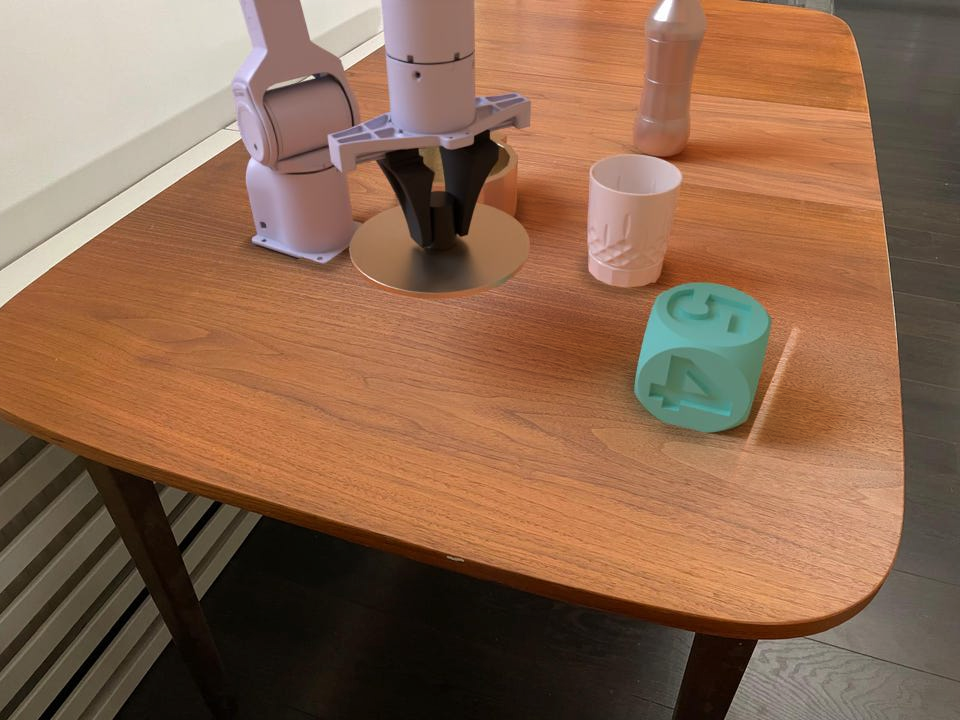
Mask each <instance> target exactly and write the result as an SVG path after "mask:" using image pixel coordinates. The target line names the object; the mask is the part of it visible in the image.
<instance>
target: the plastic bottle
mask: <svg viewBox="0 0 960 720" xmlns="http://www.w3.org/2000/svg"><path fill="white" fill-rule="evenodd" d="M707 26H708V22H707V16H706V13H705V11H704V7H703V5H702V4H701V2H700V0H657V1H656V2H655V4H654V5H653V6H652V7H651V9H650V10H649V12H648V14H647V16H646V19H645V21H644V74H643V85H642V89H641V95H640V99H639V104H638V110H637V112H636V115H635V117H634V121H633V125H632V140H633V141H632V142H633V143H634V146H635V147H636V149H637V150H638V151H639V152H640V153H643V154H644V155H647V156H652V157H672V156H676V155H678V154H680V153H681V152H682V151H683V150H684V149H685V148H686V147H687V144H688V142H689V139H690V137H691V115H690V112H691V101H692V100H691V99H692V86H693V82H694V75H695V71H696V67H697V61H698V58H699V54H700V51H701V48H702V45H703V41H704V38H705V34H706V30H707Z"/></svg>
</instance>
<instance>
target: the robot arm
mask: <svg viewBox="0 0 960 720" xmlns="http://www.w3.org/2000/svg"><path fill="white" fill-rule="evenodd" d="M238 1H239V6H240V9H241V11H242V15H243V18H244V21H245V25H246V30H247V32H248V36H249V39H250V43H251V46H252V49H251V51H250V53H249V55H248V56H247V58H246V59H245V60H244V61H243V63H242V64H241V66H240V67H239V68H238V69H237V71H236V72H235V74H234V75H233V76H234V77H232V80H231V81H230V85H231V93H232V96H233V101H234V106H235V117H236V125H237V128H238V132H239V135H240V138H241V140H242V142H243V145H244V147H245V148H246V150H247V153H248V154H249V155H250V158H249V161H248V164H247V167H246V171H245V186H246V190H247V195H248V199H249V204H250V208H251V211H252V217H253V222H254V225H255V230H256V234H255V235H254V236H253V237H252V238H251V243H253V244H254V245H257V246H261V247H264V248H266V249H269V250H273V251H275V252H279V253H282V254H285V255H287V256H291V257H294V258H298V259H301V258H305V259H308V260H311V261H314V262H317V263H320V264H326V263H328V262H330V261H331V260H333V259H335V258H336V257H337V256H338V255H339V254H341V253H342V252H343V251H345V250H346V249H348V248H350V242H351V239H352V237H353V235H354V234H355V232H356V231H357V229H358V228H359V227H360V226H361V225H362V224H363V223H364V222H363V223H362V222H359V221H356V220H354V218H353V217H354V216H353V209H352V202H351V201H352V200H351V194H350V185H349V177H348V173H350V172H353V171H356V170H357V166H358V165H362V164H366V163H371V162H374V161H375V162H376V163H377V165H378V166H379V168H380V170H381V171H382V173H383V175H384V176H385V178H386V179H387V181H388V183H389V185H390V186H391V188H392V190H393V193H394V195H395V194H396V196H397V199H398V201H399V203H400V205H401V208H402V210H403V213H404V216H405V219H406V222H407V225H408V229H409V232H410V236H411V238H412V239H413V240H414V241H415V242H416V243H417V244H418V245H419V246H420V247H421V248H426V247H430V246H431V239H432V232H431V219H430V200H431V191H432V185H433V180H434V175H435V172H434V171H432V170H431V169H430V168H429V167H427V166H426V165H425V164H424V159H423V156H420V155H419V149H423V148H427V147H435V146H439V150H440V155H441V160H442V166H443V172H444V180H445V192H449V193H451V194H453V195H454V196H455V198H456V223H457V234H458V235H459V236H460V237H463V236H466V235H468V232H469V228H470V224H471V220H472V216H473V212H474V209H475V206H476V203H477V200H478V197H479V194H480V192H481V189H482V187H483V185H484V183H485V181H486V179H487V177H488V175H489V173H490V172H491V170H492V168H493V167H494V166H495V164H496V163H497V161H498V160H499V145H498V144H497V143H495V142H494V141H493V140H491V139H490V132H496V131H500V130H504V129H508V128H512V127H513V128H515V129H516V130H522V129H526V128H530V127H531V114H532V113H531V112H532V101H531V100H530V99H529V98H528V97H526V96H523V95H522V94H520V93H518V92H517V91H514V92H509V93H503V94H496V95H483V96H482V95H481V96H476V31H475V30H476V27H475V26H476V25H475V24H476V23H475V22H476V19H475V15H476V14H475V13H476V12H475V11H476V10H475V0H380V2H381V3H380V4H381V15H382V28H383V38H384V39H383V40H384V48H385V49H384V50H385V61H386V62H385V63H386V74H387V85H388V98H389V108H390V109H389V111H387V112H385V113H382V114H380V115H378V116H376V117H373V118H371V119H369V120H366V121H364V122H362V121H361V120H362V119H361V118H362V117H361V110H360V106H359V102H358V99H357V96H356V93H355V92H354V90H353V88H352V86H351V85H350V82H349V80H348V77H347V74H346V71H345V69H344V65H343V62H342V59H341V58H340V57H338V56H337V55H335V54H333V53H332V52H330V51H329V50H327V49H325V48H323V47H321V46H319V44H316V43H315V42H313V41H312V40H311V37H310V33H309V29H308V26H307V22H306V18H305V14H304V10H303V6H302V3H301V0H238ZM309 76H311V77H313V78H311V79H307V80H302V81H298V82H294V83H290V84H287V85H283V86H279V87H275V88H271V87H272V86H274V85H276V84H281V83H285V82H288V81H289V82H290V81H292V80H296V79H297V80H298V79H301V78H305V77H309ZM269 88H271V89H269ZM320 258H322V259H320Z"/></svg>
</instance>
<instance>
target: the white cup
mask: <svg viewBox="0 0 960 720" xmlns="http://www.w3.org/2000/svg"><path fill="white" fill-rule="evenodd" d="M683 179H684V176H683V173H682V171H681V170H680V168H678V167H677V166H676V165H674V164H673V163H671V162H670V161H667V160H665V159H662V158H659V157H657V156H653V155H647V154H638V153H637V154H634V153H627V154H626V153H625V154H624V153H623V154H616V155H610V156H607V157H603V158H601V159H599V160H597V161H595V162H594V163H593V164H592V165H591V167H590V169H589V176H588V180H589V181H588V204H587V243H586V245H587V250H588V251H587V267H588V268H587V269H588V272H589V273H590V274H591V275H592V276H593V277H594V278H595V279H596V280H598V281H600V282H603V283H605V284H607V285H609V286H613V287H619V288H628V289H629V288H636V287H637V288H638V287H645V286H647V285H649V284H651V283H653V284H656V283H657V281H658V280H659V278H660V276H661V273H662V269H663V265H664V260H665V255H666V253H667V250H668V246H669V241H670V238H671V234H672V231H673V226H674V221H675V216H676V213H677V212H676V211H677V207H678V202H679V198H680V193H681V189H682V185H683V181H684V180H683Z"/></svg>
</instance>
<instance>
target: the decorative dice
mask: <svg viewBox="0 0 960 720" xmlns="http://www.w3.org/2000/svg"><path fill="white" fill-rule="evenodd" d="M772 320H773V319H772V317H771V315H770V314H769V313H768V311H767V310H766V309H765V307H764V306H763V305H762V304H761V303H760V302H759V301H757V300H756V299H755V298H754V297H752V296H751V295H749V294H748V293H746V292H744V291H742V290H739V289H737V288H734V287H732V286H728V285H725V284H719V283H713V282H698V281H697V282H687V283H682V284H679V285H675V286H673V287H671V288H669V289H666V290H664V291H663V292H661V293H660V294H658V295H657V296H656V297H655V300H654V302H653V305H652V308H651V311H650V314H649V317H648V320H647V325H646V328H645V331H644V334H643V340H642V344H641V348H640V351H639V352H640V354H639V357H638V361H637V367H636V373H635V379H634V387H633V388H634V390H633V393H634V395H635V397H636V398H637V401H639V403H640V404H641V405H642V406H643V408H645V410H647V412H648V413H650V414H651V415H652V416H653V417H654V418H656V419H657V420H659V421H660V422H662V423H665V424H669V425H673V426H677V427H681V428H686V429H689V430H694V431H697V432H702V433H718V432H724V431H726V430H730V429H733V428H735V427H736V428H737V427H738V426H740V425H742V424H744V423H746V422H747V420H748V418H749V416H750V413H751V410H752V407H753V403H754V400H755V396H756V393H757V389H758V386H759V381H760V377H761V374H762V369H763V367H764V366H763V365H764V361H765V357H766V353H767V349H768V345H769V339H770V334H771V329H772V322H773V321H772Z"/></svg>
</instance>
